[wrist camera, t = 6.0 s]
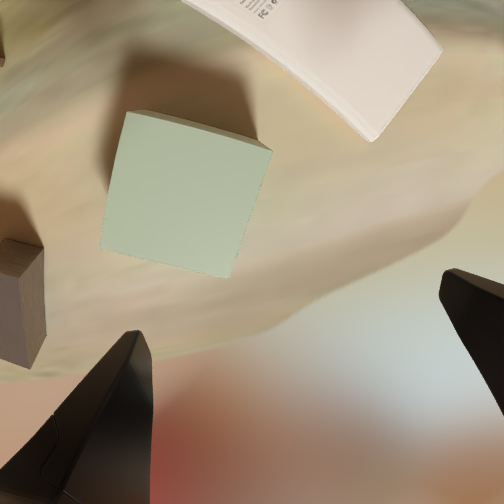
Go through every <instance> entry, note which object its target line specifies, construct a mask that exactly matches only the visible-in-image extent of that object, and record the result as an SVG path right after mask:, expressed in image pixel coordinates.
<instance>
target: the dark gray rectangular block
mask: <svg viewBox="0 0 504 504" xmlns="http://www.w3.org/2000/svg"><path fill="white" fill-rule="evenodd" d="M46 336H47V335H46V323H45V307H44V249H42V248H38V247H35V246H31V245H27V244H24V243H20V242H17V241H13V240H10V239H6V238H5V239H4V240H3V241H2V242H1V243H0V358H1V359H3V360H6V361H8V362H11V363H14V364H16V365H19V366H22V367H25V368H27V369H31V367H32V365H33V363H34V361H35V358H36V356H37V354H38V352H39V350H40V348H41V346H42V344H43V342H44V340H45V338H46Z"/></svg>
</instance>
